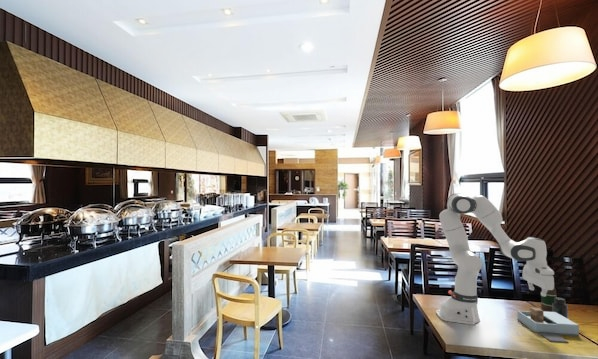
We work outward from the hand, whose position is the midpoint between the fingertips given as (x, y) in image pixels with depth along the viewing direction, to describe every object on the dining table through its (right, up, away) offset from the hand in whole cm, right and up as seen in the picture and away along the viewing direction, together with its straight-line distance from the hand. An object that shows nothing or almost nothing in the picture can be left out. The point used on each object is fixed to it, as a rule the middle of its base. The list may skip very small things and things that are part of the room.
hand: (537, 292), depth 162 cm
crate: (+4, -18, -1) cm, 19 cm away
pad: (-2, -18, -13) cm, 22 cm away
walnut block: (-1, -15, 0) cm, 15 cm away
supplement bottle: (+20, -19, +9) cm, 29 cm away
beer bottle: (+24, -20, +21) cm, 37 cm away
